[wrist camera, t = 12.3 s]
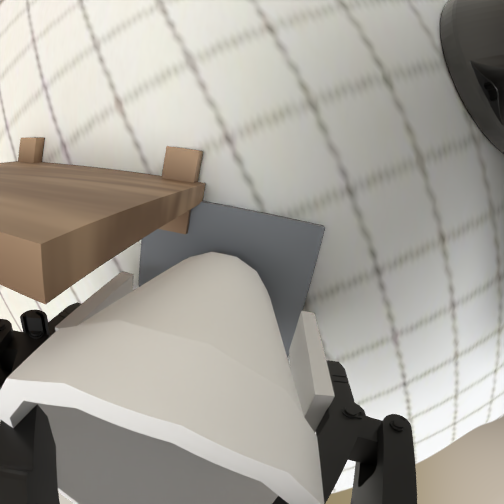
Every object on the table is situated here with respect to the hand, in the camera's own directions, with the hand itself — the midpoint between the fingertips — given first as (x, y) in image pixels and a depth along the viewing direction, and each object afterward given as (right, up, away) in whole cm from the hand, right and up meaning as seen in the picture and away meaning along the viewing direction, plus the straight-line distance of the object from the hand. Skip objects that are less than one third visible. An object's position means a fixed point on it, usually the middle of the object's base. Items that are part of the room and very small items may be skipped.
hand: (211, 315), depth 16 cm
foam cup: (0, +1, +2) cm, 2 cm away
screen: (-8, +9, +2) cm, 12 cm away
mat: (0, +1, +3) cm, 4 cm away
